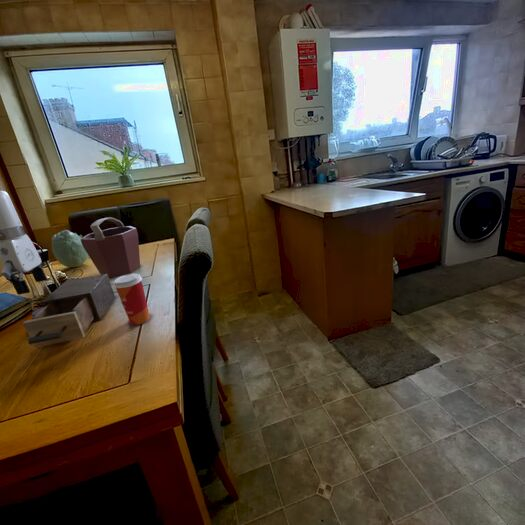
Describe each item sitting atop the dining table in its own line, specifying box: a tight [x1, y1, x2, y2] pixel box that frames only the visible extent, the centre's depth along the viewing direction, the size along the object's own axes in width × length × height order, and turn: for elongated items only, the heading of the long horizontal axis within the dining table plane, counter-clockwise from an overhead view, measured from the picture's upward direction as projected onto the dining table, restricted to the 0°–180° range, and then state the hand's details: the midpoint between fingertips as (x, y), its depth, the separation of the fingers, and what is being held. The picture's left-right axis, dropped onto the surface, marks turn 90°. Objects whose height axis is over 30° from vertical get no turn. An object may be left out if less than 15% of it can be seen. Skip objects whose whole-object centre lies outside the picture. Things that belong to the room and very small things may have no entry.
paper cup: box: [113, 273, 151, 326], centre depth 82 cm, size 8×8×14 cm
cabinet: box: [41, 274, 116, 322], centre depth 93 cm, size 17×14×10 cm
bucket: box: [80, 216, 141, 278], centre depth 128 cm, size 24×22×25 cm
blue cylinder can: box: [31, 307, 44, 318], centre depth 91 cm, size 6×6×4 cm
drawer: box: [22, 295, 96, 348], centre depth 80 cm, size 20×12×8 cm, turn 12°
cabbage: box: [51, 229, 90, 268], centre depth 144 cm, size 16×19×20 cm
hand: (33, 286), depth 87 cm, fingers open, 9 cm apart
